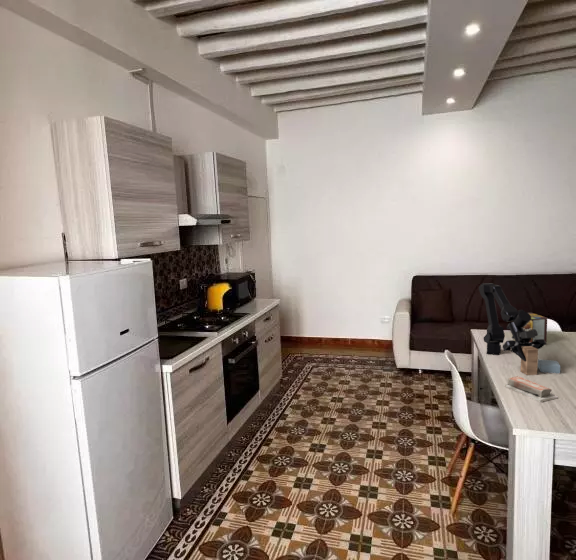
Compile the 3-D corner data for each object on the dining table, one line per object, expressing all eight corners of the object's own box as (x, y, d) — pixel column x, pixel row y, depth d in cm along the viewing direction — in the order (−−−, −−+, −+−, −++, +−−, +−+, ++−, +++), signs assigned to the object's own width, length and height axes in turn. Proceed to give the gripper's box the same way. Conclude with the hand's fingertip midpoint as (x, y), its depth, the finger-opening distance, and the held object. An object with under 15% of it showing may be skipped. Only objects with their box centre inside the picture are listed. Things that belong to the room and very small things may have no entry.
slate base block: (540, 372, 202) (540, 364, 202) (537, 367, 210) (538, 359, 209) (560, 374, 199) (560, 366, 199) (556, 368, 207) (556, 360, 206)
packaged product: (503, 377, 186) (520, 374, 189) (503, 388, 186) (520, 384, 190) (540, 392, 169) (558, 388, 172) (540, 403, 170) (558, 399, 173)
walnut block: (520, 371, 204) (521, 346, 202) (530, 371, 204) (531, 346, 202) (526, 375, 199) (527, 349, 197) (537, 374, 199) (538, 349, 197)
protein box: (530, 336, 261) (531, 312, 259) (546, 343, 246) (547, 317, 244) (514, 337, 261) (515, 313, 259) (529, 344, 246) (530, 318, 243)
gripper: (506, 324, 202) (519, 353, 192) (544, 322, 202) (558, 351, 193) (497, 336, 211) (509, 364, 201) (533, 334, 211) (546, 362, 202)
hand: (530, 360), depth 199 cm, fingers closed on walnut block, 5 cm apart
